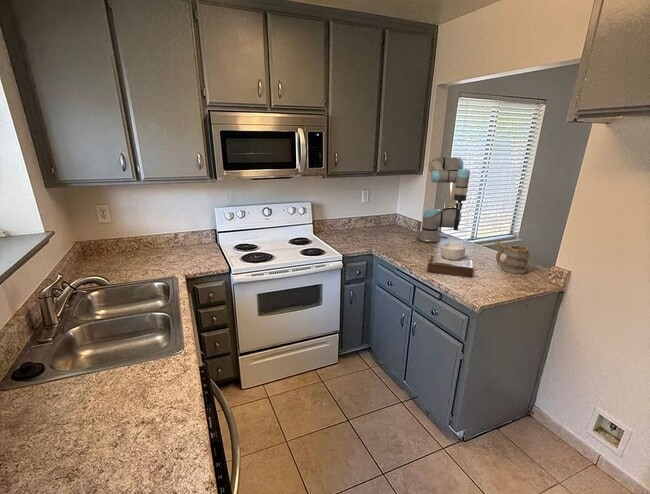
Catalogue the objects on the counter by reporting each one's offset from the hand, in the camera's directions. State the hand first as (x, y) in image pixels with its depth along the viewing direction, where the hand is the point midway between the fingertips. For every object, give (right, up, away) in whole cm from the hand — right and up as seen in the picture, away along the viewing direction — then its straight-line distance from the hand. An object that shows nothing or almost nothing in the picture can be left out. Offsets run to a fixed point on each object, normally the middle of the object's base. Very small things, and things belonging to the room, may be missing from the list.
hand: (455, 229), depth 238 cm
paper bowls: (-4, -19, -5) cm, 20 cm away
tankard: (+23, -26, -23) cm, 42 cm away
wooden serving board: (-13, -27, -26) cm, 39 cm away
